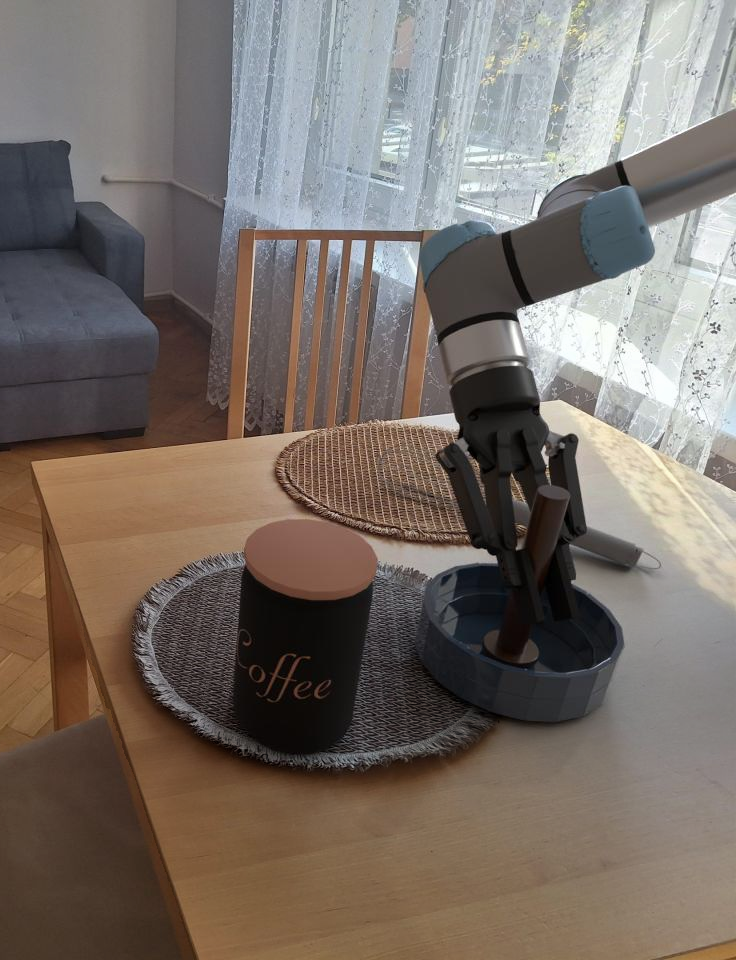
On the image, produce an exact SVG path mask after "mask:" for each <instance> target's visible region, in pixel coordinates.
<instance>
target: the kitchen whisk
mask: <svg viewBox="0 0 736 960" xmlns="http://www.w3.org/2000/svg"><path fill="white" fill-rule="evenodd" d="M397 447H410V448H415V449H419V450H421V451H424V452H427V453H430V454H433V455H434V456H435V455H436V453H434V452H433V451H431V450H430V451H429V450H427V449H424V448H422V447H419V446H414V445H410V444H409V445H408V444H399V445H397V444H396V445H393V446H391V447H389V448H388V449H385V451H384V452H383V453H382V456H381V457H380V458H378V459H377V464H376V471H377V474H378V476H379V477H380V479H381V481H383V483H384V484H385V485H386V486H387V487H388V488H389V489H391V490H393V491H394V492H396V493H398V494H399V495H402V496H404V497H407V498H409V499H412V500H415V501H419V502H422V503H425V504H430V505H434V506H438V507H443V508H447V509H456V510H460V509H459V507H453V506H448V505H443V504H437V503H433V502H429V501H425V500H423V499H419V498H415V497H412V496H410V495H408V494H404V493H401V492H399V491H398V490H396V489H399V490H402V491H404V492H406V493H409V494H412V495H416V496H419V497H422V498H425V499H429V500H433V501H437V502H441V503H446V504H450V505H456V506H458V503H457V500H455V499H450V498H447V497H444V496H443V497H442V496H440V495H435V494H433V493H429V492H426V491H423V490H420V489H417V488H416V487H413V486H410V485H408V484H406V483H405V482H402V481H400V480H398V479H397V478H395V477H394V476H392V474H390V473H389V472H388V470H386V468H385V467H384V466H387V467H389V468H392V469H394V470H397V471H398V472H401V473H404V474H406V475H409V476H411V477H414V478H417V479H419V480H423V481H425V482H427V483H431V484H434V485H435V486H439V487H442V488H445V489H447V490H450V491H453V489H452V488H450V487H447V486H445V485H442V484H439V483H437V482H433V481H431V480H428V479H425V478H422V477H420V476H417V475H414V474H411V473H409V472H406V471H404V470H402V469H399V468H396V467H395V466H391V465H389V464H387V463H385V462H388V463H391V464H392V463H393V464H396V465H399V466H401V467H405V468H407V469H411V470H413V471H416V472H418V473H421V474H424V475H426V476H429V477H432V478H433V479H436V480H439V481H442V482H443V483H447V484H449V485H451V483H450V481H447V480H444V479H442V478H439V477H437V476H434V475H431V474H429V473H426V472H423V471H421V470H419V469H416V468H413V467H410V466H407V465H405V464H401V463H398V462H395V461H392V460H387V459H384V458H385V457H386V456H387V455H388V454H392V453H399V454H405V455H407V456H408V455H409V456H411V457H414V458H417V459H420V460H422V461H424V462H427V463H430V464H432V465H433V466H436V467H438V468H440V469H443V468H442V466H441V465H438V464H437V463H434V462H432V461H429V460H427V459H425V458H428V459H430V460H433V461H435V462H438V461H437V459H436V458H433V457H430V456H428V455H425V454H423V453H419V452H415V451H410V450H399V449H398V450H391V449H393V448H397ZM411 453H412V454H411ZM414 454H416V455H417V456H416V455H414ZM418 455H420V456H423V457H425V458H422V457H420V456H418ZM383 461H384V462H383ZM381 467H382V469H383V470H384V471H385V473H386V474H387V475H388V476H389V477H391V478H392V479H393V480H395V481H396V482H398V483H400V484H402V485H403V486H406V487H408V488H410V489H413V490H415V491H418V492H420V493H424V494H427V495H430V496H433V497H436V498H432V497H430V496H424V495H422V494H419V493H415V492H411V491H409V490H407V489H405V488H401V487H399V486H397V485H395V484H393V483H391V482H389V481H388V480H386V479H385V478H384V477H383V476H382V474H381ZM443 470H444V469H443ZM476 478H477V481H478V483H479V486H480V489H481V491H483V492H485V490H484V484H483V483H482V482H481V480H480V479H479V478H478V477H476ZM390 485H391V486H393V487H394V488H393V487H391V486H390ZM395 488H396V489H395ZM437 498H439V499H437ZM483 498H484V501H485V503H486V499H485V496H483ZM441 499H444V500H441ZM445 500H447V501H445ZM512 500H513V508H514V516H515V524H517V525H518V526H519V525H520V526H522V527H525V528H527V525H528V522H529V518H530V514H531V512H530V509H529V507H528V504H527V502H523V501H521V500H518V499H515V498H513V497H512ZM586 527H587V532H586V534H584V535H582V536H580V537H578V538H576V539H575V540H574V541H573V542H571V543H570V545H571V546H574V547H576V548H579V549H582V550H584V551H587V552H589V553H592V554H594V555H597V556H600V557H601V558H604V559H606V560H607V559H608V560H609V561H612V562H615V563H617V564H620V565H623V566H626V565H627V566H630V567H632V568H636V567H638V568H643V569H647V570H658V569H660V568H661V567H662V563H661V561H660V560H659V559H658V558H656V557H655V556H654V555H651V554H650V553H648V552H646V551H644V548H642V547H640V546H637V545H636V543H634V542H631V541H628V540H626V539H623V538H621V537H617V536H615V535H612V534H610V533H607V532H605V531H602V530H598V529H596V528H593V527H591V526H587V525H586ZM643 553H644V554H646V555H647V556H649V557H650V558H652V559H654V560H655V561H656V562H658V564H659V566H658V567H647V566H643V565H639V564H638V562H639V560H640V559H641V556H642V554H643Z"/></svg>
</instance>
